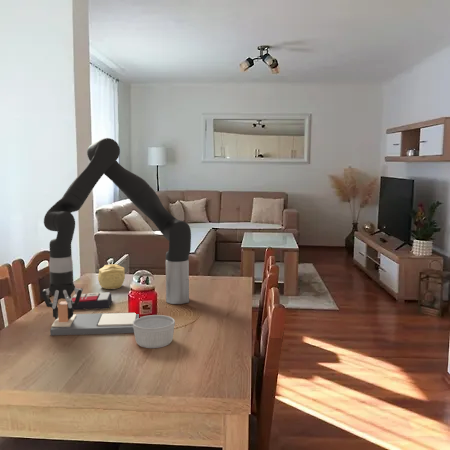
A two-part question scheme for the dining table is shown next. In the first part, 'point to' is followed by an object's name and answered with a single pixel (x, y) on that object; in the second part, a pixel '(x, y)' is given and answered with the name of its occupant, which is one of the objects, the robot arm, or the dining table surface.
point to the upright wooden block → (63, 316)
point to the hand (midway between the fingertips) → (63, 317)
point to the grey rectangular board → (98, 324)
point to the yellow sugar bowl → (111, 276)
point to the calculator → (93, 301)
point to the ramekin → (153, 331)
